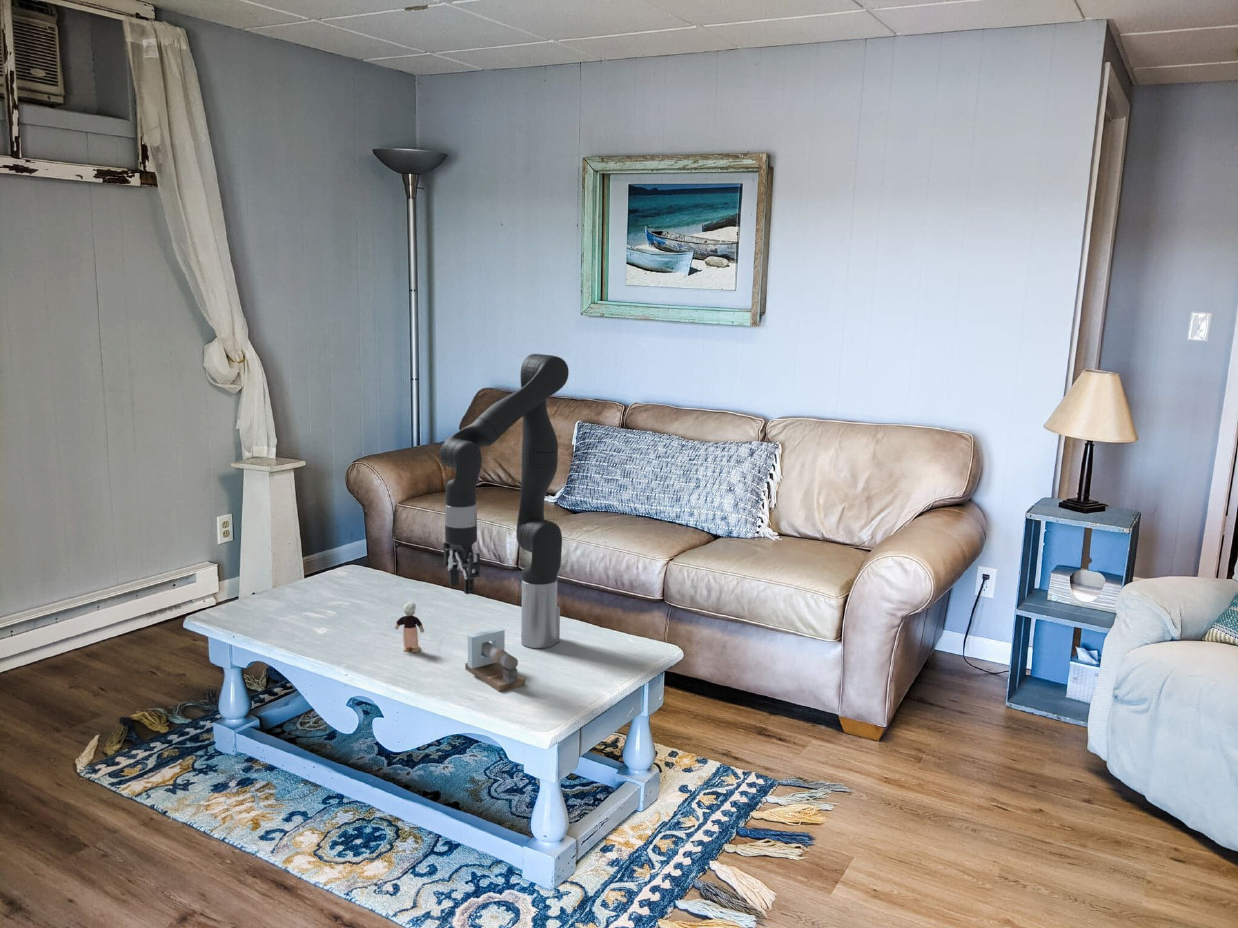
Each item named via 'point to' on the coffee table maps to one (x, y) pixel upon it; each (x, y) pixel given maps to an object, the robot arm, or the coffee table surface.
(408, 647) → the grandmother figurine
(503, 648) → the square plate with hole
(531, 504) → the robot arm
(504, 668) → the pipe stand
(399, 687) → the coffee table surface
